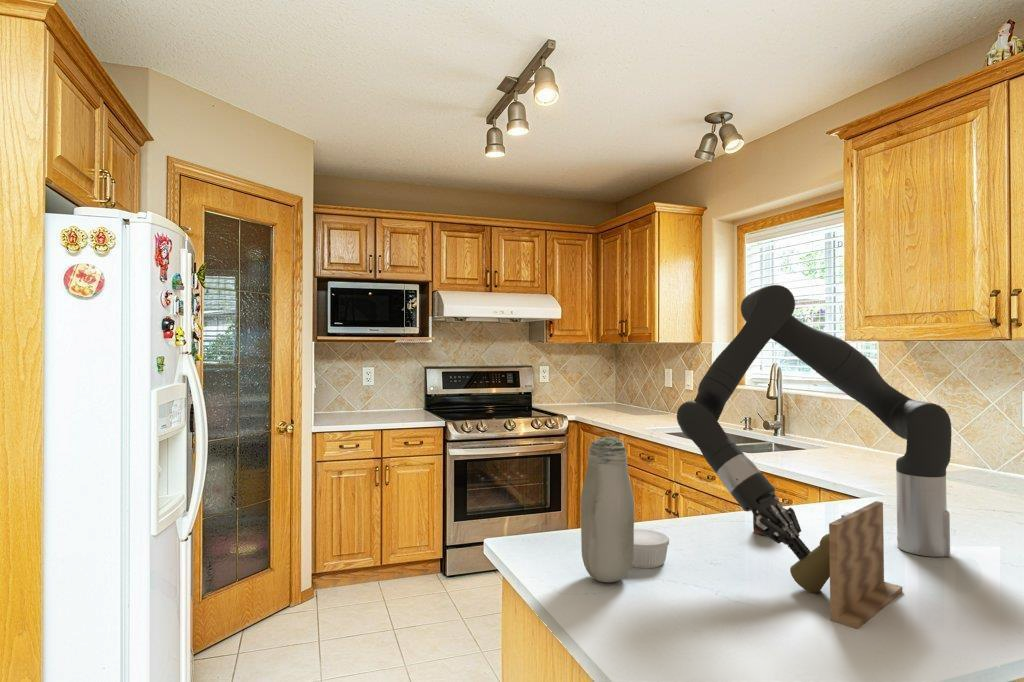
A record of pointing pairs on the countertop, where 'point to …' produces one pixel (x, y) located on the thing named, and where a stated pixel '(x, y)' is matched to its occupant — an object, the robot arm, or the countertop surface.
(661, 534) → the ramekin
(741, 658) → the countertop surface
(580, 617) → the countertop surface
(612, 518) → the grey bottle
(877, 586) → the shelf wall
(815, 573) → the olive pawn figure
